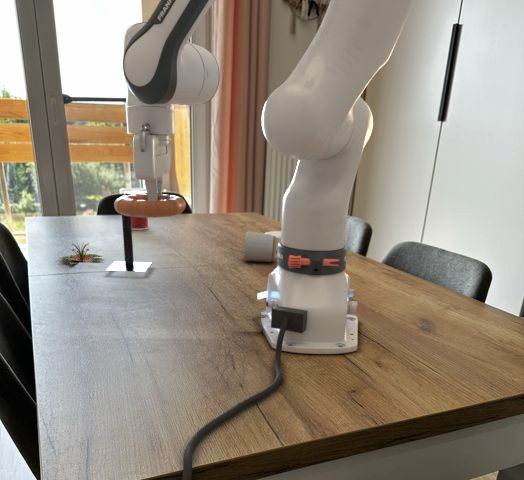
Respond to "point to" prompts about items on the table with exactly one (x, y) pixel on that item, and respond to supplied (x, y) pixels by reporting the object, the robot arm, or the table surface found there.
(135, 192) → the soda can
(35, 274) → the table surface
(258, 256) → the ceramic mug
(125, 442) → the table surface
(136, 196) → the ring
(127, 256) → the stand
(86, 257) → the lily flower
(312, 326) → the robot arm
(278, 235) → the ramekin
